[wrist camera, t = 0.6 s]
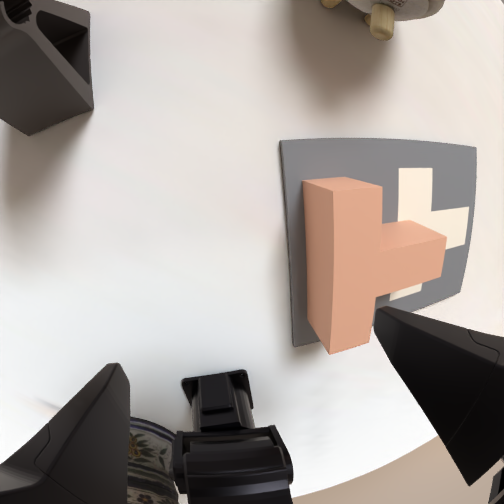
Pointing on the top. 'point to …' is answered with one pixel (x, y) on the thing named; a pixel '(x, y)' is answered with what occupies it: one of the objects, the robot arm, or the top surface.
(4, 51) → the phone stand
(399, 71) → the top surface
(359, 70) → the top surface
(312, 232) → the t block
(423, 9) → the toy sheep
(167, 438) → the vase
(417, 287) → the mat
